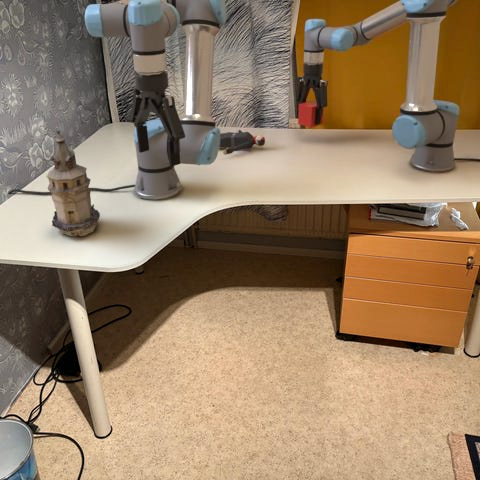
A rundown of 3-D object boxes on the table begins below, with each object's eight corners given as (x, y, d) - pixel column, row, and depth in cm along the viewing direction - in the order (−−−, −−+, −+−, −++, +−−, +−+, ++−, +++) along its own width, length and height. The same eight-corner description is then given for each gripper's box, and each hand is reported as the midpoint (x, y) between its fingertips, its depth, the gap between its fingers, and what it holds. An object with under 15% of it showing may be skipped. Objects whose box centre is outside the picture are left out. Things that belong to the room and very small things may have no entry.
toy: (199, 123, 225) (269, 123, 219) (200, 137, 228) (270, 138, 222) (181, 143, 203) (259, 144, 197) (183, 159, 206) (259, 160, 200)
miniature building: (80, 214, 164) (63, 117, 149) (111, 225, 157) (96, 125, 142) (44, 231, 154) (22, 130, 140) (75, 244, 147) (55, 139, 133)
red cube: (310, 127, 211) (311, 107, 208) (298, 124, 216) (298, 104, 212) (322, 123, 216) (323, 103, 212) (309, 120, 220) (310, 100, 216)
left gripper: (196, 77, 119) (201, 167, 129) (135, 61, 135) (144, 142, 146) (169, 83, 115) (176, 175, 125) (109, 66, 131) (120, 149, 141)
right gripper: (340, 65, 200) (335, 125, 211) (300, 58, 213) (298, 115, 224) (327, 68, 196) (323, 129, 207) (287, 60, 208) (286, 118, 220)
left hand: (159, 158), depth 135 cm, fingers open, 13 cm apart
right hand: (310, 121), depth 215 cm, fingers closed on red cube, 7 cm apart
